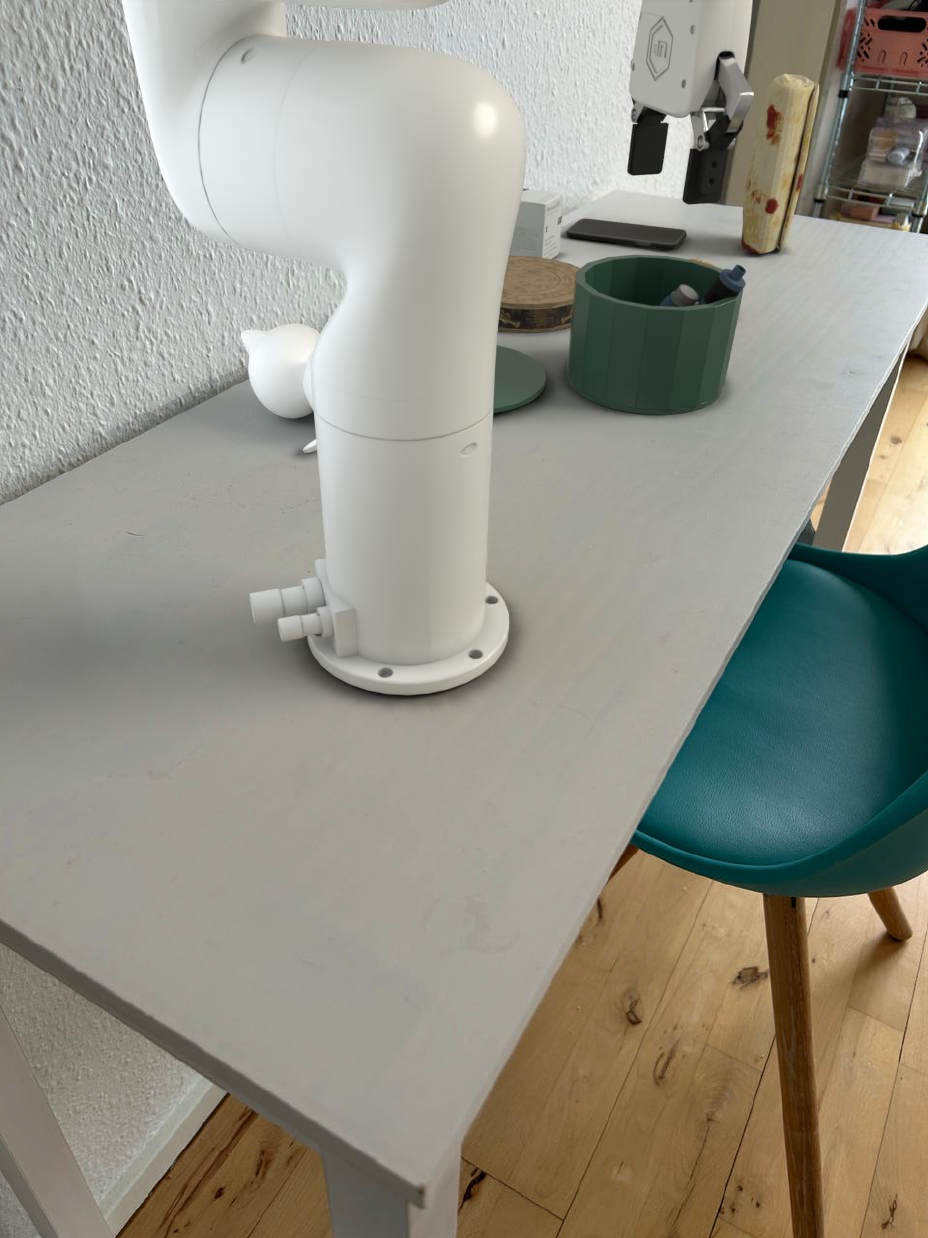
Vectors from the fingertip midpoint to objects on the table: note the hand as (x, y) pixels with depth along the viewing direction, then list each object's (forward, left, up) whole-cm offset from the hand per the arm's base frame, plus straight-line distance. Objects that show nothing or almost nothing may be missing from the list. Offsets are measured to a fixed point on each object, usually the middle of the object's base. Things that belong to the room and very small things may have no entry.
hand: (671, 187), depth 80 cm
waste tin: (0, 0, -17) cm, 17 cm away
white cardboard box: (+3, +38, -17) cm, 42 cm away
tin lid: (-17, +4, -17) cm, 24 cm away
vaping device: (0, -1, -16) cm, 16 cm away
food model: (+34, +33, -18) cm, 51 cm away
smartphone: (+19, +42, -17) cm, 49 cm away
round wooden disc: (-4, +22, -17) cm, 28 cm away
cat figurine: (-32, 0, -18) cm, 36 cm away
